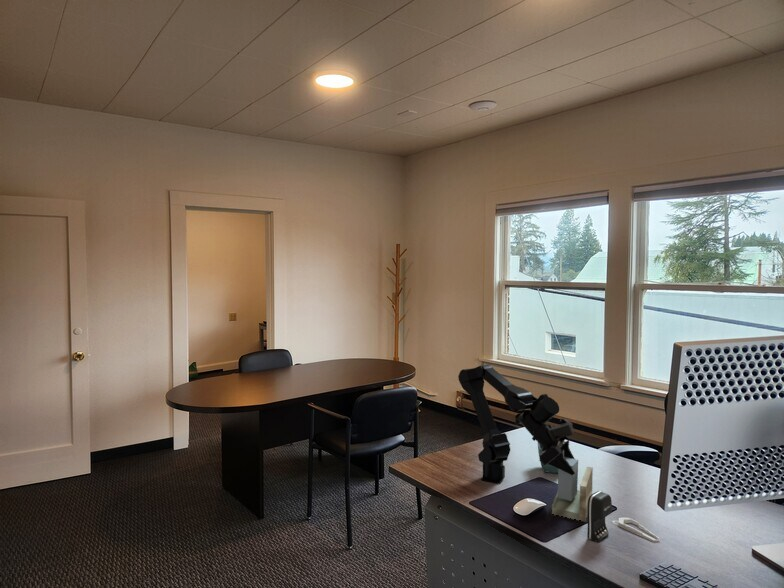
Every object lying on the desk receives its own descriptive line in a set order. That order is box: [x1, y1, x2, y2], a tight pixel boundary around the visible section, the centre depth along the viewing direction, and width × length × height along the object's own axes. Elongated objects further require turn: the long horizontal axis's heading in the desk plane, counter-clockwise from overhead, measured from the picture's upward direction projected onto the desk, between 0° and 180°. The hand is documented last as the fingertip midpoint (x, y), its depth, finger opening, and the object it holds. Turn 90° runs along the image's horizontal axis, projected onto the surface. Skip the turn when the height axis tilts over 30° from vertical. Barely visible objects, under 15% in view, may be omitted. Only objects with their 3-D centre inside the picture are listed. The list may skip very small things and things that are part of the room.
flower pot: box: [537, 442, 558, 474], centre depth 178 cm, size 9×9×9 cm
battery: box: [587, 490, 613, 542], centre depth 132 cm, size 7×4×11 cm, turn 131°
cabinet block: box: [557, 457, 579, 501], centre depth 150 cm, size 5×6×10 cm
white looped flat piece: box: [611, 517, 660, 543], centre depth 136 cm, size 13×5×2 cm, turn 33°
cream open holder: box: [551, 466, 594, 523], centre depth 149 cm, size 9×16×10 cm, turn 152°
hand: (575, 470), depth 149 cm, fingers closed on cabinet block, 6 cm apart
